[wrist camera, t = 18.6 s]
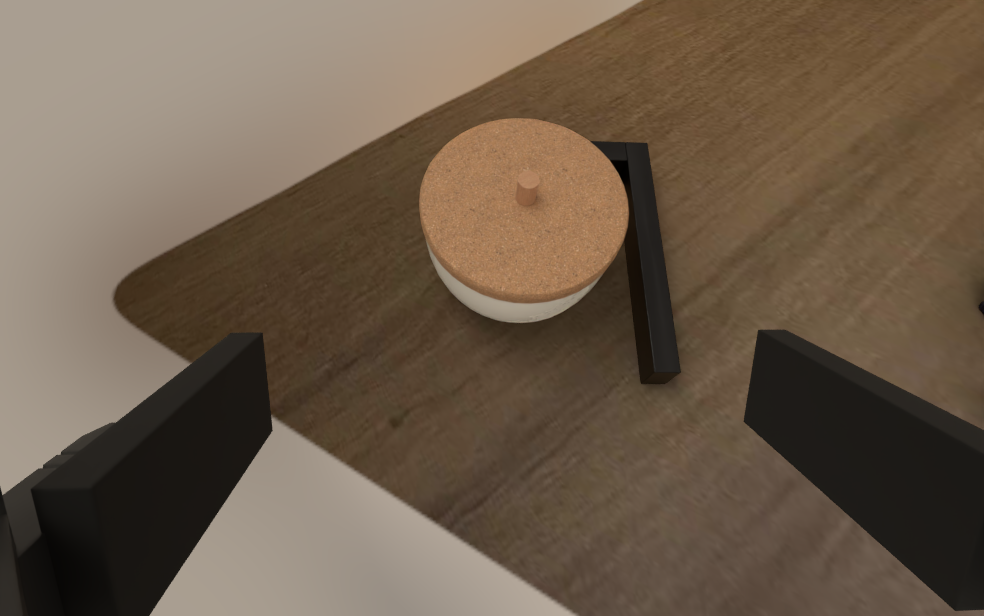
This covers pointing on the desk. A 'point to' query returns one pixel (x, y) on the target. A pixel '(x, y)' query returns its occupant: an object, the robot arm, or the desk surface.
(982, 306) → the toy figure
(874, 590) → the desk surface
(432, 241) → the trinket box
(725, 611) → the desk surface
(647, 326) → the corner bracket
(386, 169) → the desk surface
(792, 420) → the robot arm
